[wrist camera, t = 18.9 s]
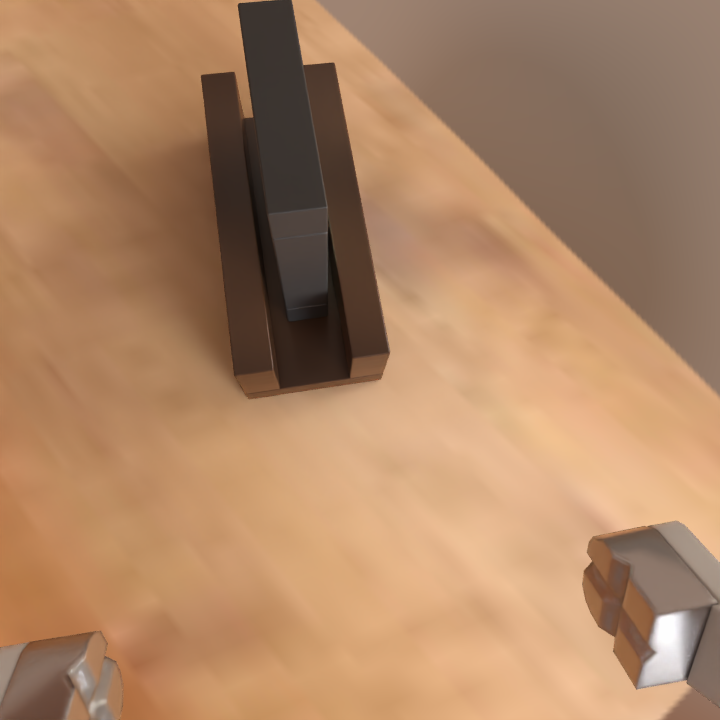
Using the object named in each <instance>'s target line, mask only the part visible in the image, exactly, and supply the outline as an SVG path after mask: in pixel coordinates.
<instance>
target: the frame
mask: <svg viewBox="0 0 720 720" xmlns="http://www.w3.org/2000/svg"><path fill="white" fill-rule="evenodd" d="M238 11H239V18H240V25H241V32H242V39H243V46H244V53H245V61H246V68H247V75H248V82H249V89H250V96H251V103H252V110H253V118H254V125H255V132H256V139H257V146H258V153H259V160H260V167H261V175H262V182H263V189H264V196H265V203H266V210H267V216H268V222H269V227H270V232H271V237H272V242H273V247H274V252H275V257H276V262H277V268H278V273H279V278H280V283H281V288H282V293H283V298H284V304H285V309H286V314H287V319H288V321H289V322H290V321H297V320H305V319H312V318H319V317H326V316H328V205H327V199H326V194H325V188H324V182H323V176H322V171H321V165H320V159H319V153H318V148H317V142H316V136H315V130H314V125H313V119H312V113H311V108H310V102H309V96H308V90H307V85H306V79H305V73H304V67H303V62H302V56H301V50H300V45H299V39H298V33H297V27H296V22H295V16H294V10H293V4H292V0H273V1H261V2H249V3H239V4H238Z"/></svg>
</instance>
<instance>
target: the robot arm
mask: <svg viewBox="0 0 720 720" xmlns="http://www.w3.org/2000/svg"><path fill="white" fill-rule="evenodd" d="M587 553H588V555H589V557H590V558H591V560H592V562H591V563H590V565H589V566H588V567H587V568H586V569H585V570H584V574H583V583H582V585H583V590H584V595H585V600H586V603H587V605H588V608H589V610H590V613H591V615H592V616H593V618H594V620H595V621H596V623H597V625H598V627H600V628H601V629H603V630H604V631H606V632H607V633H609V634H611V635H612V636H614V637H615V638H614V648H613V652H614V653H615V655H616V657H617V658H618V660H619V662H620V663H621V665H622V666H623V668H624V670H625V671H626V673H627V675H628V676H629V678H630V680H631V681H632V683H633V685H634V686H635V688H636V689H641V688H647V687H652V686H657V685H663V684H668V683H673V682H679V681H684V680H687V684H688V685H690V686H691V687H692V688H694V689H695V690H696V691H697V692H699V693H700V694H702V695H703V696H704V697H706V698H707V699H708V700H709V701H711V702H712V703H713V704H715V705H716V706H717V707H719V708H720V562H719V561H718V560H717V559H716V558H715V557H714V556H713V555H712V554H711V553H710V552H709V550H708V549H707V548H706V547H705V546H704V545H703V544H702V543H701V542H700V541H699V540H698V539H697V538H696V536H695V535H694V534H693V533H692V532H691V531H690V530H689V529H688V528H687V527H686V526H685V525H684V524H682V523H680V522H679V521H672V522H667V523H662V524H656V525H651V526H647V527H646V526H642V527H637V528H633V529H628V530H623V531H618V532H613V533H608V534H603V535H598V536H593V537H592V539H591V540H590V541H589V544H588V549H587ZM107 646H108V643H107V641H106V639H105V637H104V636H103V634H102V632H101V631H95V632H88V633H82V634H76V635H70V636H64V637H57V638H51V639H45V640H39V641H32V642H27V643H21V644H16V645H10V646H4V647H0V720H120V718H121V713H122V707H123V681H122V676H121V671H120V669H119V667H118V664H117V662H116V661H114V660H112V659H110V658H108V657H106V656H105V654H106V650H107Z"/></svg>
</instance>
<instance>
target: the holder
mask: <svg viewBox="0 0 720 720" xmlns="http://www.w3.org/2000/svg"><path fill="white" fill-rule="evenodd" d="M303 67H304V73H305V79H306V85H307V90H308V96H309V102H310V108H311V113H312V119H313V125H314V130H315V136H316V142H317V148H318V153H319V159H320V165H321V171H322V176H323V182H324V188H325V194H326V199H327V205H328V316H326V317H319V318H312V319H305V320H297V321H290V322H289V321H288V319H287V314H286V309H285V304H284V298H283V293H282V288H281V283H280V278H279V273H278V268H277V262H276V257H275V252H274V247H273V242H272V237H271V232H270V227H269V222H268V216H267V210H266V203H265V196H264V189H263V182H262V175H261V167H260V160H259V153H258V146H257V139H256V132H255V125H254V118H244V115H243V110H242V105H241V100H240V95H239V90H238V85H237V80H236V76H235V73H234V72H227V73H216V74H206V75H201V81H202V90H203V99H204V108H205V117H206V126H207V135H208V144H209V153H210V162H211V171H212V180H213V189H214V198H215V207H216V216H217V225H218V234H219V243H220V252H221V261H222V270H223V279H224V288H225V297H226V306H227V315H228V324H229V333H230V342H231V351H232V360H233V369H234V376H235V377H236V379H237V381H238V382H239V384H240V385H241V387H242V389H243V390H244V392H245V394H246V395H247V397H248V399H254V398H260V397H267V396H274V395H280V394H287V393H293V392H300V391H307V390H313V389H320V388H326V387H333V386H340V385H346V384H353V383H360V382H366V381H373V380H379V379H381V378H382V375H383V372H384V369H385V366H386V363H387V360H388V357H389V354H390V349H389V343H388V338H387V333H386V328H385V323H384V317H383V312H382V307H381V302H380V297H379V291H378V286H377V281H376V276H375V271H374V265H373V260H372V255H371V250H370V245H369V239H368V234H367V229H366V224H365V219H364V213H363V208H362V203H361V198H360V193H359V187H358V182H357V177H356V172H355V167H354V161H353V156H352V151H351V146H350V141H349V135H348V130H347V125H346V120H345V115H344V109H343V104H342V99H341V94H340V89H339V83H338V78H337V73H336V68H335V64H334V63H323V64H313V65H303Z"/></svg>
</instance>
